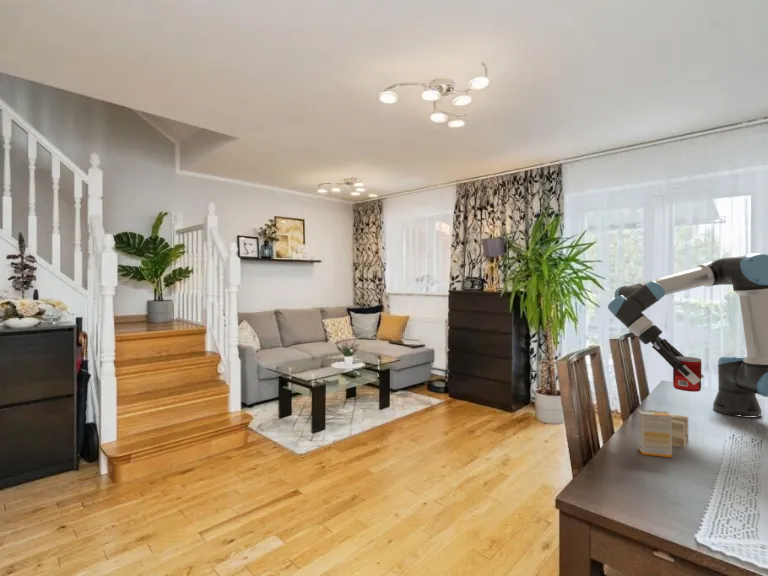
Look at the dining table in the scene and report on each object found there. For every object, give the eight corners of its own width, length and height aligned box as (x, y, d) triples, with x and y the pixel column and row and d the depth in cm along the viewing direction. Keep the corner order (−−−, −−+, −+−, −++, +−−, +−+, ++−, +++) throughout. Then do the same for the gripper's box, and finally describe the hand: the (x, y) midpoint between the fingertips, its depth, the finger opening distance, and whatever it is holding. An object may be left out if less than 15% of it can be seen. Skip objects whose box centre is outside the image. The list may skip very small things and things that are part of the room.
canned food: (705, 392, 139) (706, 360, 139) (679, 391, 141) (679, 359, 141) (693, 387, 147) (694, 356, 147) (669, 385, 149) (669, 355, 148)
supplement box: (667, 452, 129) (667, 411, 129) (672, 458, 124) (672, 415, 124) (637, 449, 131) (637, 408, 131) (641, 454, 127) (641, 413, 127)
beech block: (653, 433, 146) (653, 410, 146) (688, 440, 139) (688, 416, 139) (647, 440, 138) (647, 417, 138) (683, 448, 132) (683, 424, 131)
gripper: (643, 334, 162) (694, 381, 151) (630, 339, 147) (684, 392, 136) (659, 322, 158) (712, 369, 147) (647, 326, 143) (704, 379, 132)
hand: (699, 380), depth 142 cm, fingers closed on canned food, 8 cm apart
